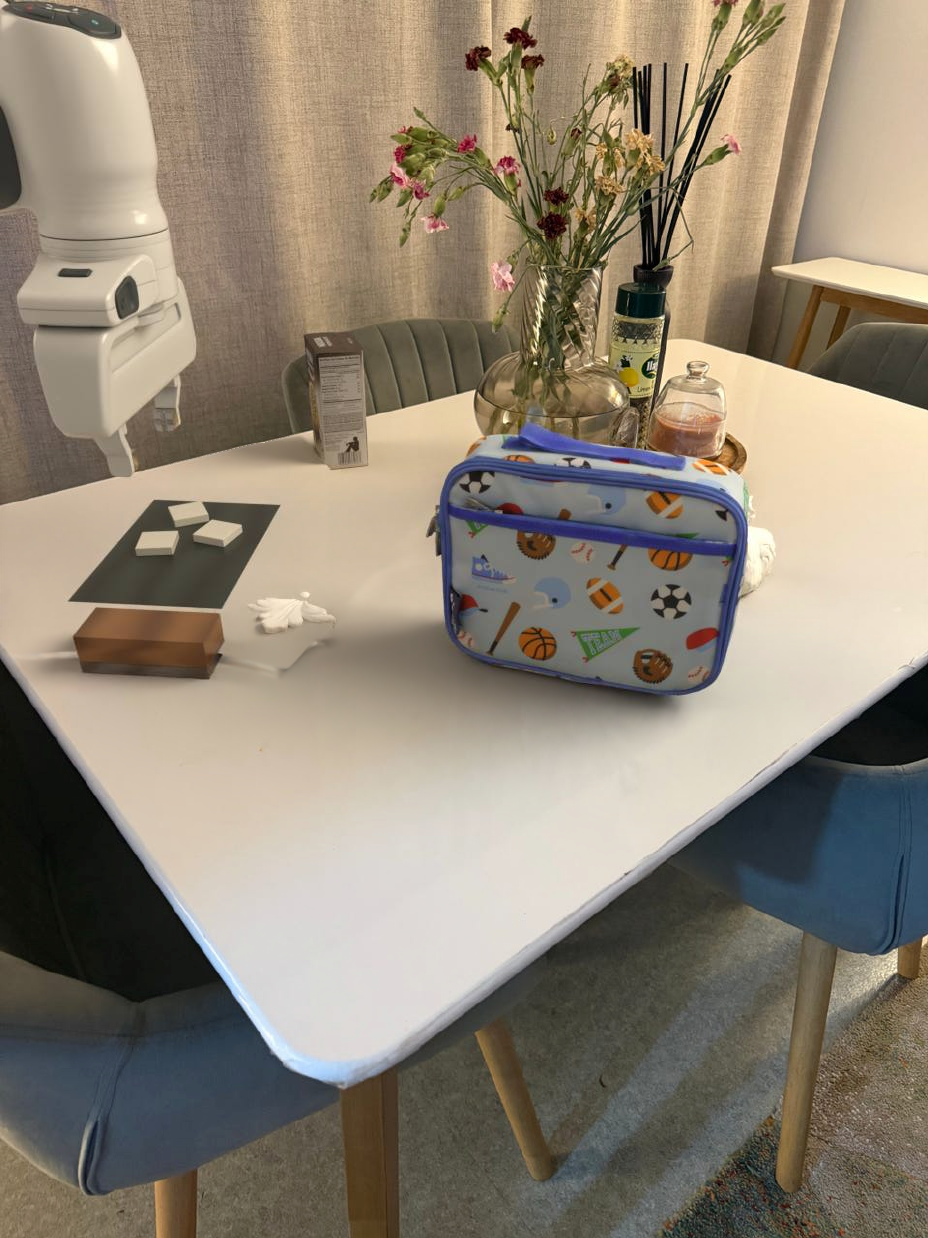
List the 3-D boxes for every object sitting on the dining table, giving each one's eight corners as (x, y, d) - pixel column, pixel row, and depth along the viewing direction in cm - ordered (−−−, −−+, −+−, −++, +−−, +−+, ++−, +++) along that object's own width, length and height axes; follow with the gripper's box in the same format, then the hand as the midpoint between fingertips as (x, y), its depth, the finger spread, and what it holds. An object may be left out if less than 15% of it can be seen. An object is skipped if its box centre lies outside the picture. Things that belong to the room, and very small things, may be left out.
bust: (755, 585, 100) (722, 491, 100) (809, 571, 94) (773, 471, 94) (681, 617, 95) (645, 517, 94) (732, 605, 88) (693, 498, 88)
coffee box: (312, 446, 128) (302, 332, 119) (356, 441, 129) (349, 329, 120) (323, 471, 120) (313, 352, 112) (370, 465, 122) (363, 348, 113)
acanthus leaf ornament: (337, 628, 88) (335, 612, 87) (271, 648, 85) (269, 632, 84) (307, 593, 94) (305, 578, 93) (245, 611, 91) (242, 596, 90)
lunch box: (417, 664, 83) (412, 442, 71) (450, 608, 92) (451, 401, 80) (717, 720, 77) (767, 486, 65) (723, 653, 85) (768, 436, 73)
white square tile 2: (193, 541, 101) (192, 534, 101) (213, 526, 104) (211, 519, 104) (224, 547, 100) (222, 539, 100) (242, 532, 103) (241, 524, 103)
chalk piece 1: (136, 556, 98) (134, 548, 98) (143, 539, 102) (142, 531, 101) (173, 554, 99) (171, 547, 98) (179, 538, 102) (178, 530, 101)
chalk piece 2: (175, 527, 104) (173, 520, 104) (169, 514, 107) (167, 506, 107) (209, 521, 106) (208, 513, 105) (202, 507, 109) (201, 500, 108)
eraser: (82, 672, 82) (72, 636, 80) (104, 641, 86) (95, 606, 84) (209, 679, 81) (203, 643, 79) (226, 647, 85) (220, 612, 83)
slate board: (56, 613, 90) (53, 605, 90) (150, 502, 112) (149, 495, 111) (229, 621, 89) (228, 614, 89) (291, 508, 111) (290, 501, 110)
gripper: (126, 243, 74) (156, 405, 81) (1, 304, 57) (54, 501, 64) (201, 245, 73) (224, 407, 81) (97, 307, 56) (139, 505, 64)
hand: (148, 449), depth 72 cm, fingers open, 8 cm apart
